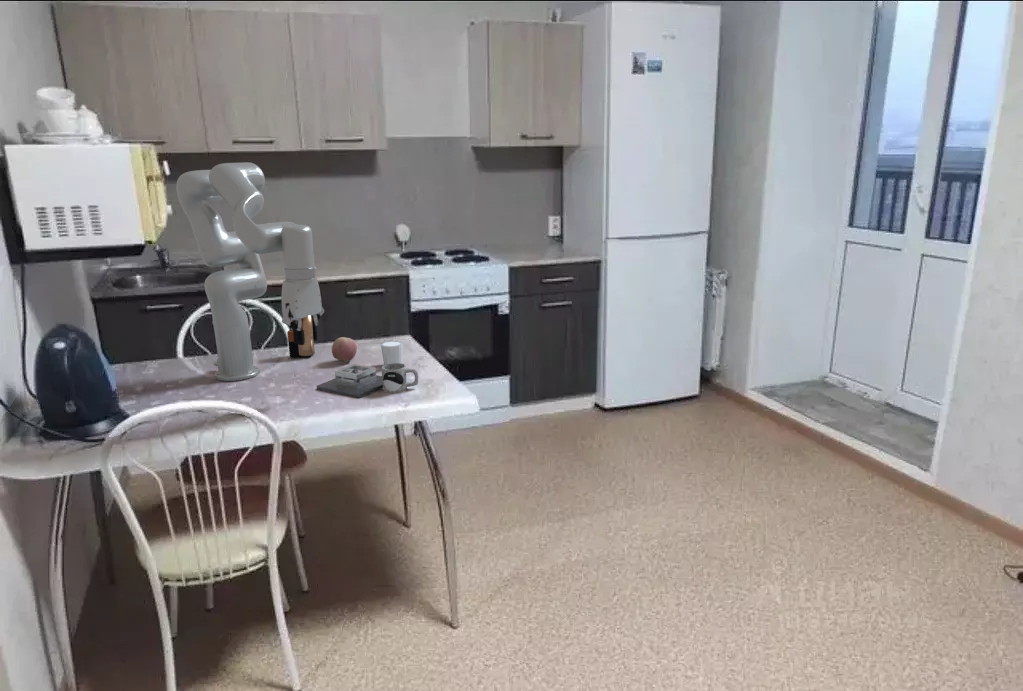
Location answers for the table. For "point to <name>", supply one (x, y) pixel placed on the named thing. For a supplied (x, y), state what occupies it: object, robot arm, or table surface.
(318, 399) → the table surface
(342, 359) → the apple
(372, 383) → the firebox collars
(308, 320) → the tube
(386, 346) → the shot glass
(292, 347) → the battery
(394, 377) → the mug
